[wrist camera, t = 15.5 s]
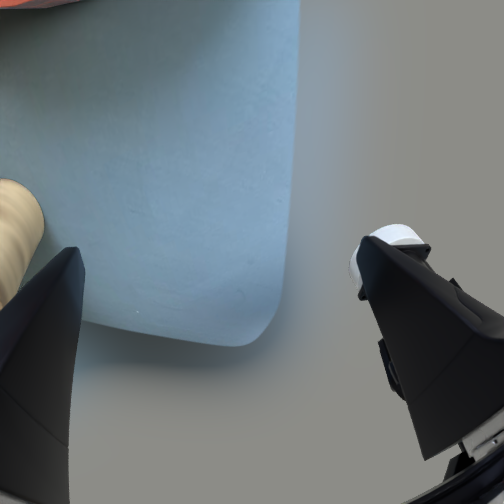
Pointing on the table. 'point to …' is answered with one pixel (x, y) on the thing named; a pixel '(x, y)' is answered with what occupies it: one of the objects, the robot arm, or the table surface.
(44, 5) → the bowl
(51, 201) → the table surface
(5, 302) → the wooden cylinder
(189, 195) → the table surface
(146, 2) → the table surface
